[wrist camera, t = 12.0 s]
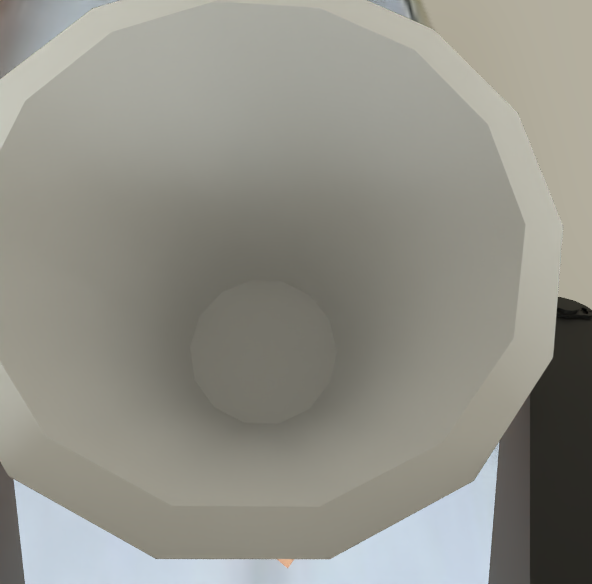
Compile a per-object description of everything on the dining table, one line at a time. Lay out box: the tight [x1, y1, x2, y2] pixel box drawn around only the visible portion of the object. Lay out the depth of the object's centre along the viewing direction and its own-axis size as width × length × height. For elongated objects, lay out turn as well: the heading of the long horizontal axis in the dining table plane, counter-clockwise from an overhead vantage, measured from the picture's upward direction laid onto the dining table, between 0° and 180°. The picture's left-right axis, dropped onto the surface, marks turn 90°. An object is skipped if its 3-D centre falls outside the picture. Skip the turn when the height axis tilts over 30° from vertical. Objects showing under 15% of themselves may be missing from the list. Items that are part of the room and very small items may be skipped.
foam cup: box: [0, 0, 563, 559], centre depth 13 cm, size 10×9×13 cm
